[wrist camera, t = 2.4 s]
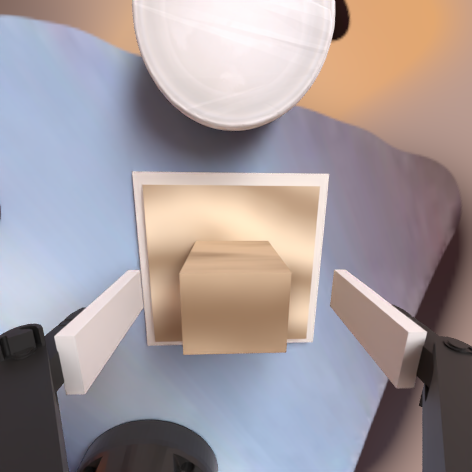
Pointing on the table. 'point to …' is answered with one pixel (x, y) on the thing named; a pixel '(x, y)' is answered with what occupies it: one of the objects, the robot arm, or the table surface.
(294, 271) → the birch lid
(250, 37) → the ramekin
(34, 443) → the robot arm
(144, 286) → the white square panel
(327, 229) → the table surface
